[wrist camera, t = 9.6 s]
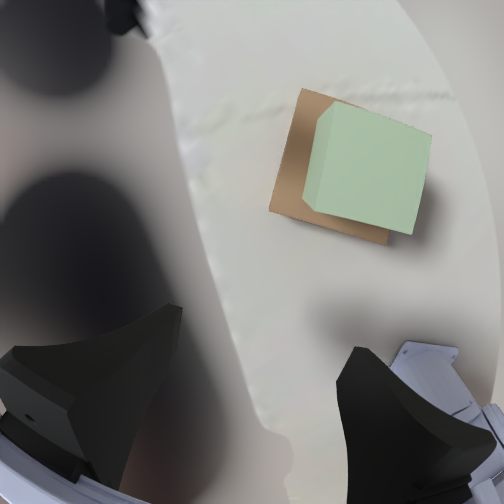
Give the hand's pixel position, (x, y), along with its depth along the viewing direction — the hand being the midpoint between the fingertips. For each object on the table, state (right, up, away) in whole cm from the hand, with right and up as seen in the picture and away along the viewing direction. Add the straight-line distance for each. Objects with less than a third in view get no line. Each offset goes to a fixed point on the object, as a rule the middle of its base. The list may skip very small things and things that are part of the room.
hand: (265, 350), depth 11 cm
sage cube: (+5, +9, +5) cm, 12 cm away
